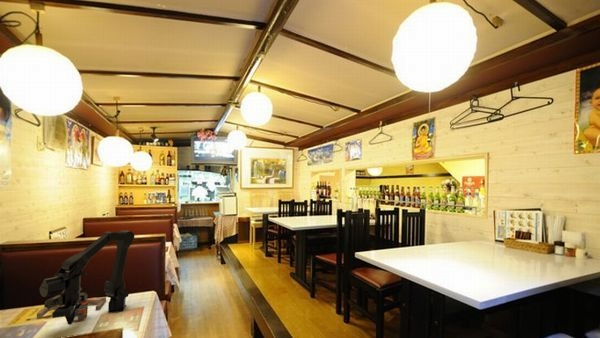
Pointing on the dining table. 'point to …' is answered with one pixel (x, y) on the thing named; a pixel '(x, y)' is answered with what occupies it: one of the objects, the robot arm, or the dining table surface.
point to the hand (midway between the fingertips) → (69, 324)
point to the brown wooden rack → (91, 301)
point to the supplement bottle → (82, 311)
